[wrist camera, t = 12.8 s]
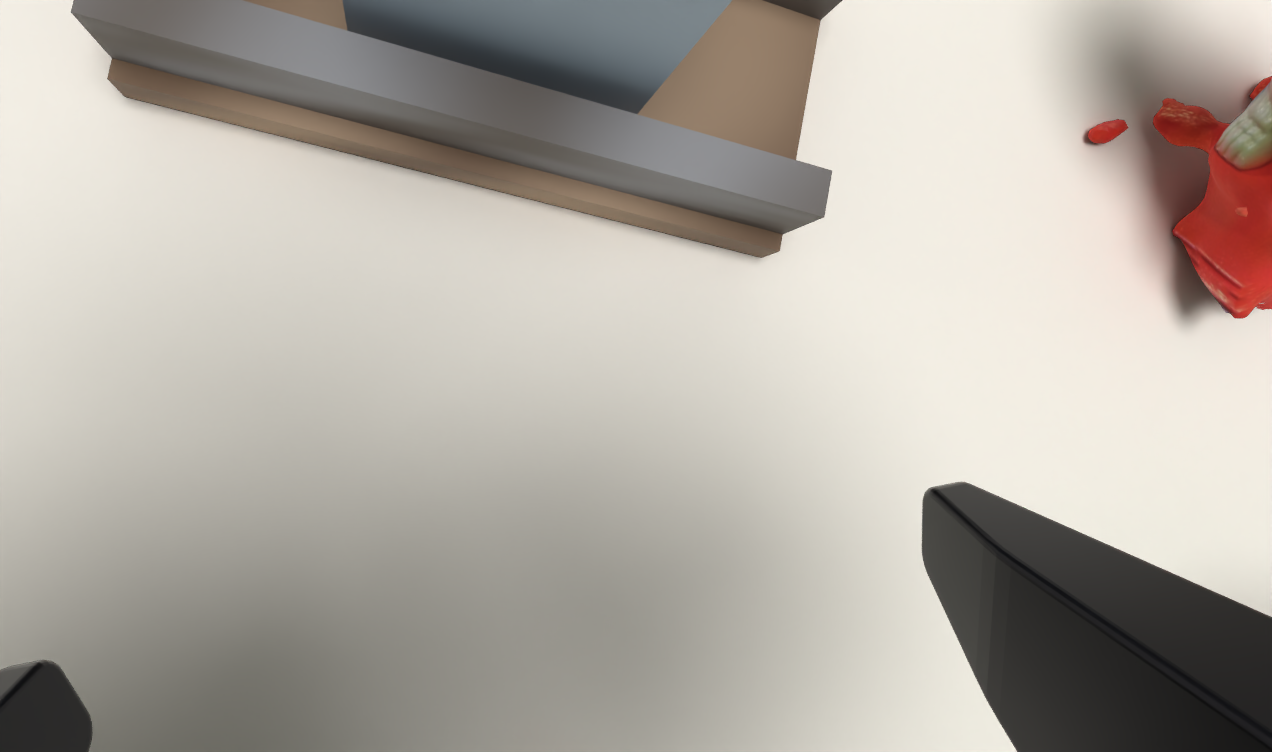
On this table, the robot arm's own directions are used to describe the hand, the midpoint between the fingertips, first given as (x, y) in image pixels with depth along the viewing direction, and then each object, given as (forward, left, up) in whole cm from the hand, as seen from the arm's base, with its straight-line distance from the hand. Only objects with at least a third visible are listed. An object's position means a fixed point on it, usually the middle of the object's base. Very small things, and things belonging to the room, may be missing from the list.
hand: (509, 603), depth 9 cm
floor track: (+8, +7, -10) cm, 14 cm away
